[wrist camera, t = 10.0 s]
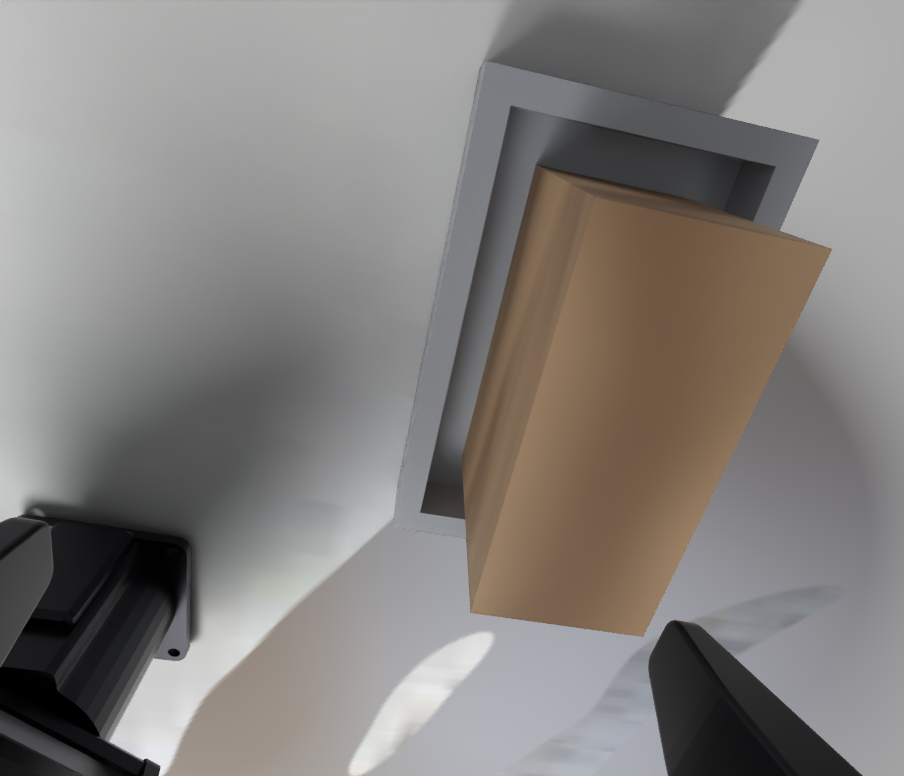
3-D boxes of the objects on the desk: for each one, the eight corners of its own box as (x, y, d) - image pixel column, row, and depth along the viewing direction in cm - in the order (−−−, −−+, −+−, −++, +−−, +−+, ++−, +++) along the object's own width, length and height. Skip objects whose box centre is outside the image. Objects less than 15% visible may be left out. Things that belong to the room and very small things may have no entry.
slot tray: (614, 520, 23) (632, 563, 20) (397, 486, 22) (392, 527, 19) (770, 136, 17) (819, 140, 14) (480, 68, 16) (486, 60, 14)
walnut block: (684, 197, 17) (831, 249, 10) (582, 478, 21) (642, 636, 15) (535, 164, 16) (595, 197, 10) (461, 458, 20) (470, 612, 14)
